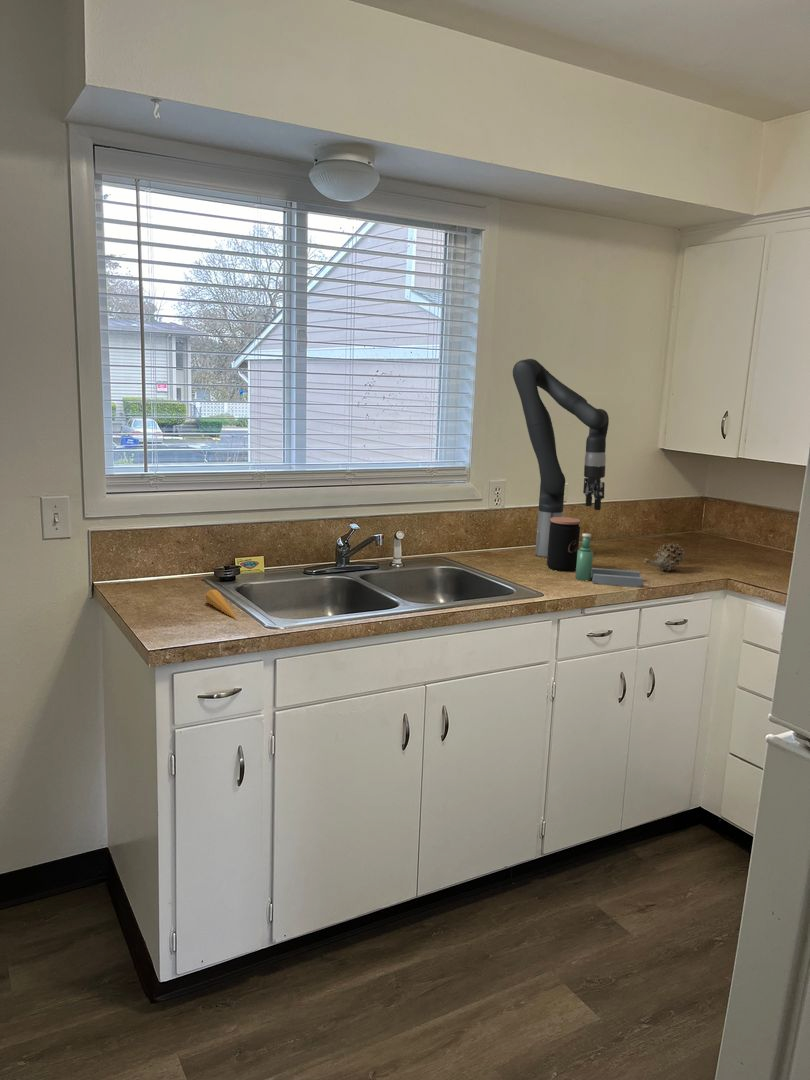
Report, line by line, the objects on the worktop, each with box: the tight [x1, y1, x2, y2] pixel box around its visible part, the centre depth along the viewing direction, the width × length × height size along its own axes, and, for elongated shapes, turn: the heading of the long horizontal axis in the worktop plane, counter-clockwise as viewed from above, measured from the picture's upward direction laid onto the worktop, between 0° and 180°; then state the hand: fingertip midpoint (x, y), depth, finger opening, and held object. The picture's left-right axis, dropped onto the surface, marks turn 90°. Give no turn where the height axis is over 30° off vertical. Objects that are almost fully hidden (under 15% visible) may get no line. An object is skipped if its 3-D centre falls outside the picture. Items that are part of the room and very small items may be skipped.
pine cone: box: [643, 542, 685, 572], centre depth 297 cm, size 22×10×10 cm, turn 135°
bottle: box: [574, 532, 594, 581], centre depth 279 cm, size 5×5×16 cm
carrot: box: [205, 589, 237, 620], centre depth 227 cm, size 20×4×4 cm, turn 33°
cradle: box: [591, 567, 644, 589], centre depth 279 cm, size 16×11×3 cm
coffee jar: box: [546, 516, 581, 572], centre depth 294 cm, size 11×11×18 cm
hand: (592, 508), depth 304 cm, fingers open, 8 cm apart
